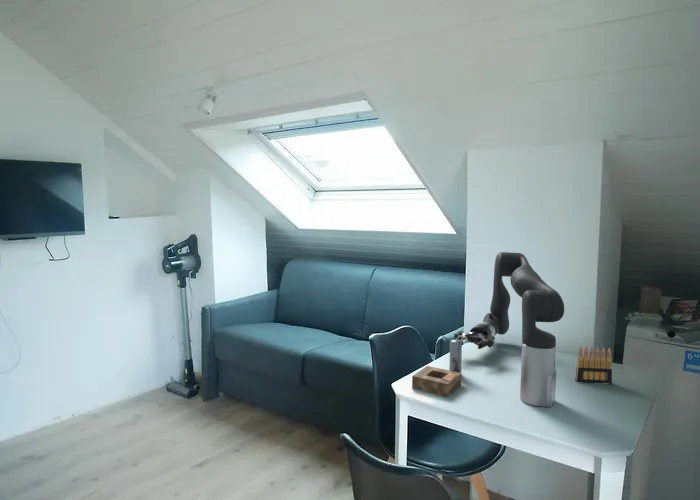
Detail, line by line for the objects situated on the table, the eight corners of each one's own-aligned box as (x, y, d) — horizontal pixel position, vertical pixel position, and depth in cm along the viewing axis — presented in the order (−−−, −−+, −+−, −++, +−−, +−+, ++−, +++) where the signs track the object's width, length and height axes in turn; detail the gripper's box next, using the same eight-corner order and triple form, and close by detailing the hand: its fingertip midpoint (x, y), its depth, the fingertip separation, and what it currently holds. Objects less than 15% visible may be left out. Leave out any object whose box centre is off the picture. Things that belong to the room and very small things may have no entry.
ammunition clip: (576, 382, 152) (578, 347, 151) (575, 380, 154) (576, 345, 153) (611, 384, 151) (613, 348, 149) (609, 382, 152) (611, 346, 151)
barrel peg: (463, 374, 160) (463, 340, 159) (458, 377, 157) (459, 343, 155) (452, 371, 162) (452, 338, 161) (447, 375, 159) (448, 341, 158)
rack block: (461, 385, 151) (461, 372, 150) (447, 396, 142) (447, 383, 141) (427, 377, 157) (427, 365, 157) (412, 387, 148) (412, 375, 148)
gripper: (465, 321, 185) (449, 331, 172) (501, 326, 177) (487, 337, 164) (464, 339, 186) (448, 350, 172) (500, 345, 178) (486, 358, 164)
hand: (467, 344), depth 168 cm, fingers open, 8 cm apart
